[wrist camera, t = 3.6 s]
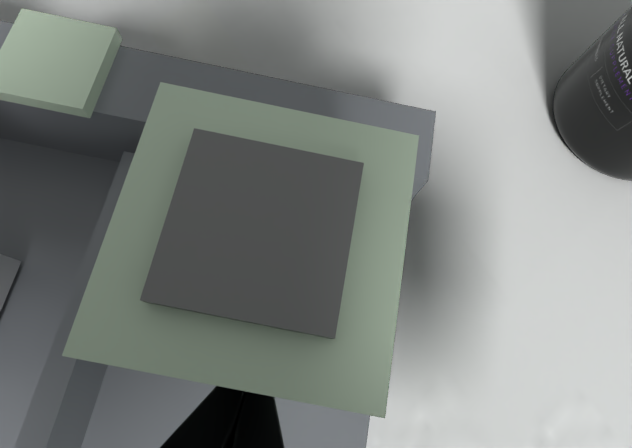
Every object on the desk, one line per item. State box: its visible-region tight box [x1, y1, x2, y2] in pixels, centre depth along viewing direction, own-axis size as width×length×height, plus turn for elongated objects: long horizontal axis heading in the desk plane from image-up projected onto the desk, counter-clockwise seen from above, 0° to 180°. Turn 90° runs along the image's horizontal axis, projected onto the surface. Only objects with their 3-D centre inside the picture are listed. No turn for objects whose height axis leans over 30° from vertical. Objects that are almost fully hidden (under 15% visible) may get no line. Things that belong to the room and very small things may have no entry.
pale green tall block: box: [62, 82, 419, 418], centre depth 10 cm, size 4×4×10 cm
